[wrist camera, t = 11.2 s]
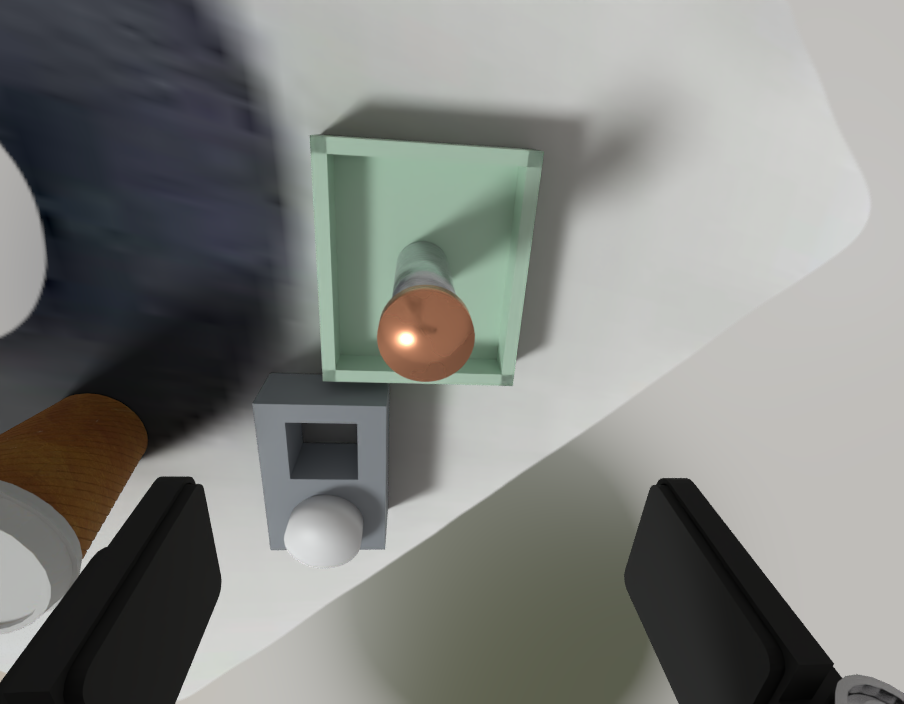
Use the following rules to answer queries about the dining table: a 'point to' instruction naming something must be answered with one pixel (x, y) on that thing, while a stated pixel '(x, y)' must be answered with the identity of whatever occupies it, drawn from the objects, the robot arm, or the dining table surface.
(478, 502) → the dining table surface
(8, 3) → the dining table surface
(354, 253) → the tray
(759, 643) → the robot arm
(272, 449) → the block
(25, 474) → the disposable coffee cup
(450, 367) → the pin
